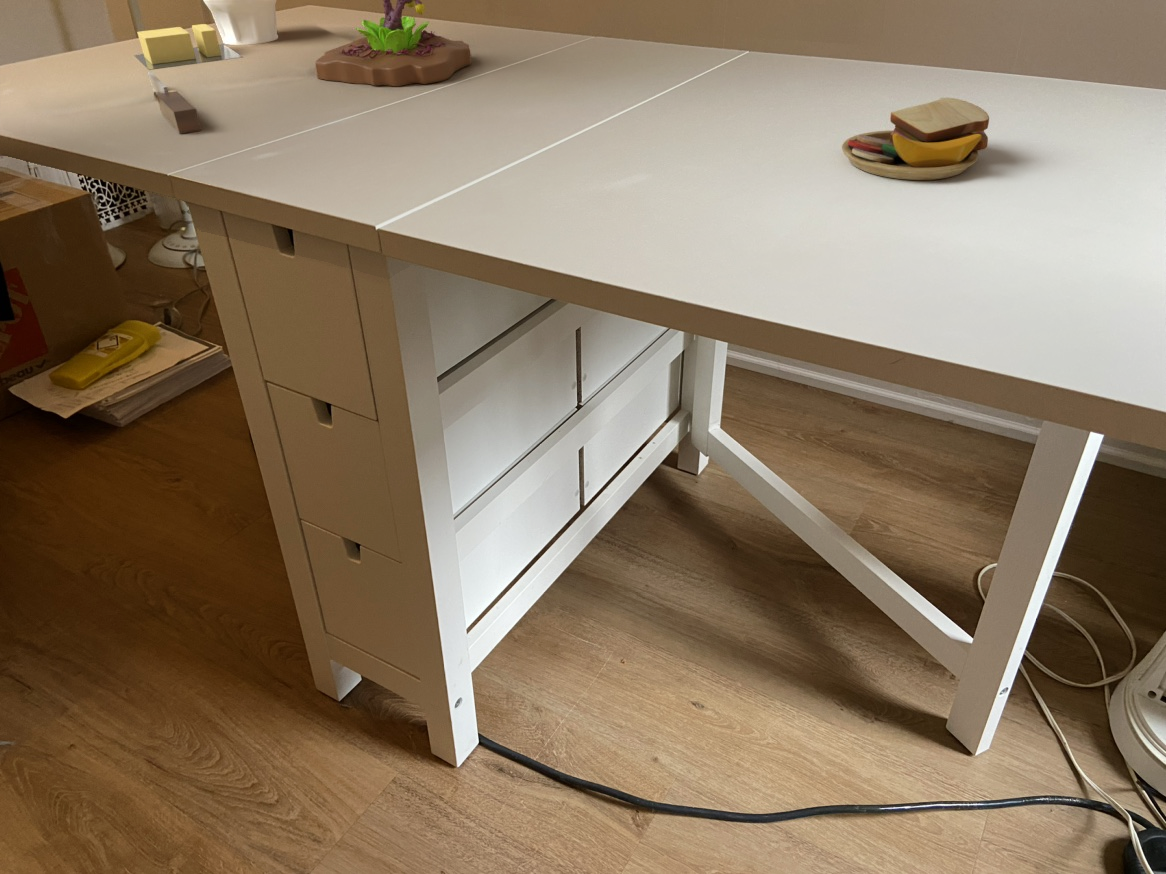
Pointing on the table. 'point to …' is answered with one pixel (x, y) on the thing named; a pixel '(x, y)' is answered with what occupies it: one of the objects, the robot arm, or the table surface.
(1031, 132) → the table surface
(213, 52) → the butter slice
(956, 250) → the table surface
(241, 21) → the cup
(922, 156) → the toy sandwich meal
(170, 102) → the knife
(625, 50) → the table surface
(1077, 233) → the table surface
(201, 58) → the butter dish
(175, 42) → the butter
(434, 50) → the plant
